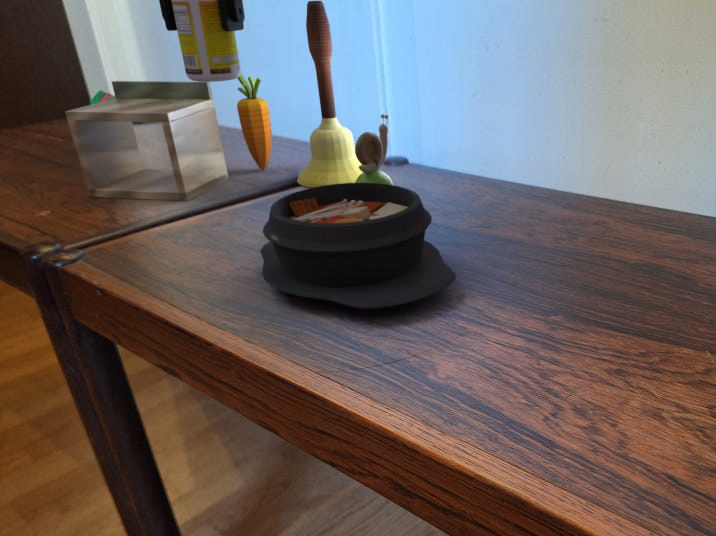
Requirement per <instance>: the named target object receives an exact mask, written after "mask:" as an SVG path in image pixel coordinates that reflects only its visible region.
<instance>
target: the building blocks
mask: <svg viewBox="0 0 716 536" xmlns="http://www.w3.org/2000/svg"><path fill="white" fill-rule="evenodd" d="M112 99H116V97H115V94H111V93H110V92H105V91H104V90H102V89H99V90H98V91H97V92H96V93H95V94H94V95H93V97H92V98H91V100H90V105H92V104H96V103H100V102H104V101H108V100H112ZM140 123H141V124H143V123H144V122H140Z"/></svg>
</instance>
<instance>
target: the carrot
mask: <svg viewBox="0 0 716 536" xmlns="http://www.w3.org/2000/svg"><path fill="white" fill-rule="evenodd" d="M237 80H238V81H239V83H240V85H241V86H242V87H237V91H239V92H240V93H241V94H243V95H244V96H245V97H244V98H241V99H239V100H238V101H237V103H236V110H237V114H238V118H239V124H240V128H241V132H242V135H243V139H244V141H245V144H246V146H247V149H248V151H249V154H250V155H251V158H252V159H253V161H254V162H255V164H256V165H257V167H258V168H259V169H260V170H261V171H263V172H264V171H265V170H266V169H267V168H268V165H269V162H270V158H271V154H272V153H271V152H272V123H271V115H270V107H269V104H268V102H267V101H266V100H265V99H263V98H262V97H257V96H258V95H257V94H258V90H259V87H260V84H261V81H262V78H261V77H260V76H257V77H256V79H255V80H254V77H252V76H248V77H247V79H246V78H245V77H244V75H243V74H242V73H241V74H240V76H239V77H238V78H237ZM247 80H248V81H247Z"/></svg>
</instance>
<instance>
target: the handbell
mask: <svg viewBox="0 0 716 536" xmlns="http://www.w3.org/2000/svg"><path fill="white" fill-rule="evenodd" d="M306 4H307V5H306V18H305V19H306V20H305V28H306V29H305V30H306V36H307V45H308V51H309V54H310V55H311V59H312V60H313V63H314V64H313V65H314V68H315V74H316V75H315V76H316V81H317V82H316V84H317V90H318V99H319V105H320V106H319V107H320V115H321V121H320V124H319V126H318V127H316V128H314V130H312V132H311V134H310V136H309V144H310V145H309V146H310V153H311V158H310V160H309V163H308V164H307V166H306V167H305V168H304V169H303V170H302V171H301V172H300V173H299V174H298V176H297V178H296V179H297V180H296V183H298V185H301V186H302V187H306V188H314V187H319V186H325V185H333V184H344V183H355V181H356V179H357V178H358V177H359V175H360V174H362V173H363V172H362V171H361V170H360V169H359V166H360V165H362V164H361V163H360V162H359V161H358V159H357V157H356V154H355V141H354V135H353V133H352V131H351V130H350V129H348V128H347V127H346V126H342V124H341V123H340V122H339V120H338V118H337V113H336V104H335V95H334V88H333V78H332V70H331V69H332V67H331V63H332V61H331V59H332V54H333V42H332V41H333V40H332V32H331V26H330V21H329V18H328V14H327V11H326V7H325V5H324V2H323V1H322V0H308V2H307V3H306Z"/></svg>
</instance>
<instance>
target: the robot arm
mask: <svg viewBox="0 0 716 536" xmlns="http://www.w3.org/2000/svg"><path fill="white" fill-rule="evenodd" d="M158 2H159V7H160V12H161V17H162V19H163V20H164V24H165V28H166V30H167V31H168V32H171V31H172V32H174V31H177V26H176V21H175V16H174V12H173V6H172V1H171V0H158ZM218 4H219V10H220V16H221V22H222V28H223V30H225V31H226V32H231V31H234V32H236V31H243V30H244V28H245V24H244V22H245V20H246V19H245V18H246V16H245V9H244V2H243V0H218Z"/></svg>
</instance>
